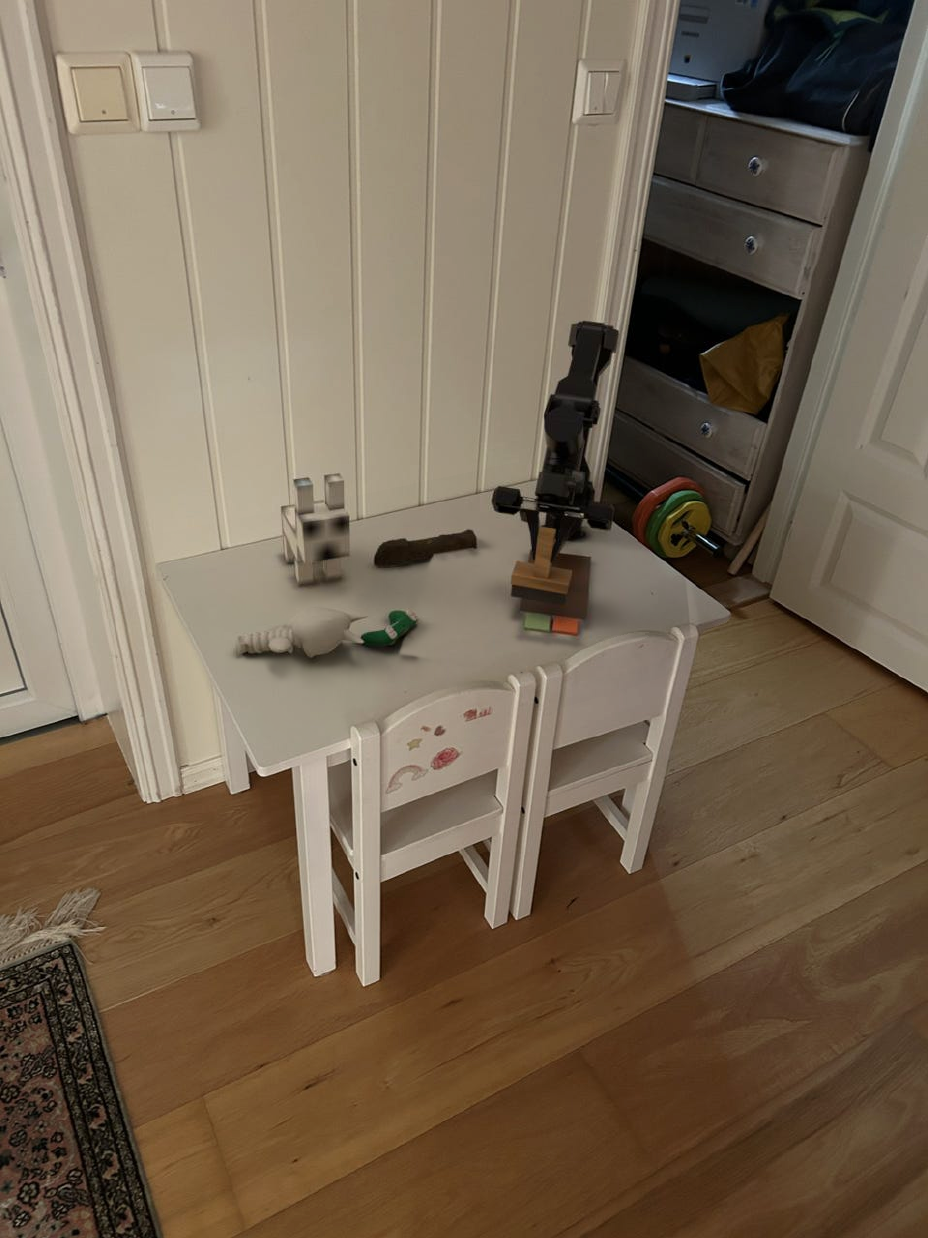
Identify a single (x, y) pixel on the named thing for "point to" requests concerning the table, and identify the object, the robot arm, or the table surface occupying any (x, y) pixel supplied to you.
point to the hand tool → (422, 548)
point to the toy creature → (304, 633)
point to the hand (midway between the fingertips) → (542, 560)
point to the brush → (541, 574)
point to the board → (576, 592)
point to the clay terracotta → (565, 625)
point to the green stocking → (391, 629)
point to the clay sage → (537, 623)
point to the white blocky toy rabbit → (316, 529)
